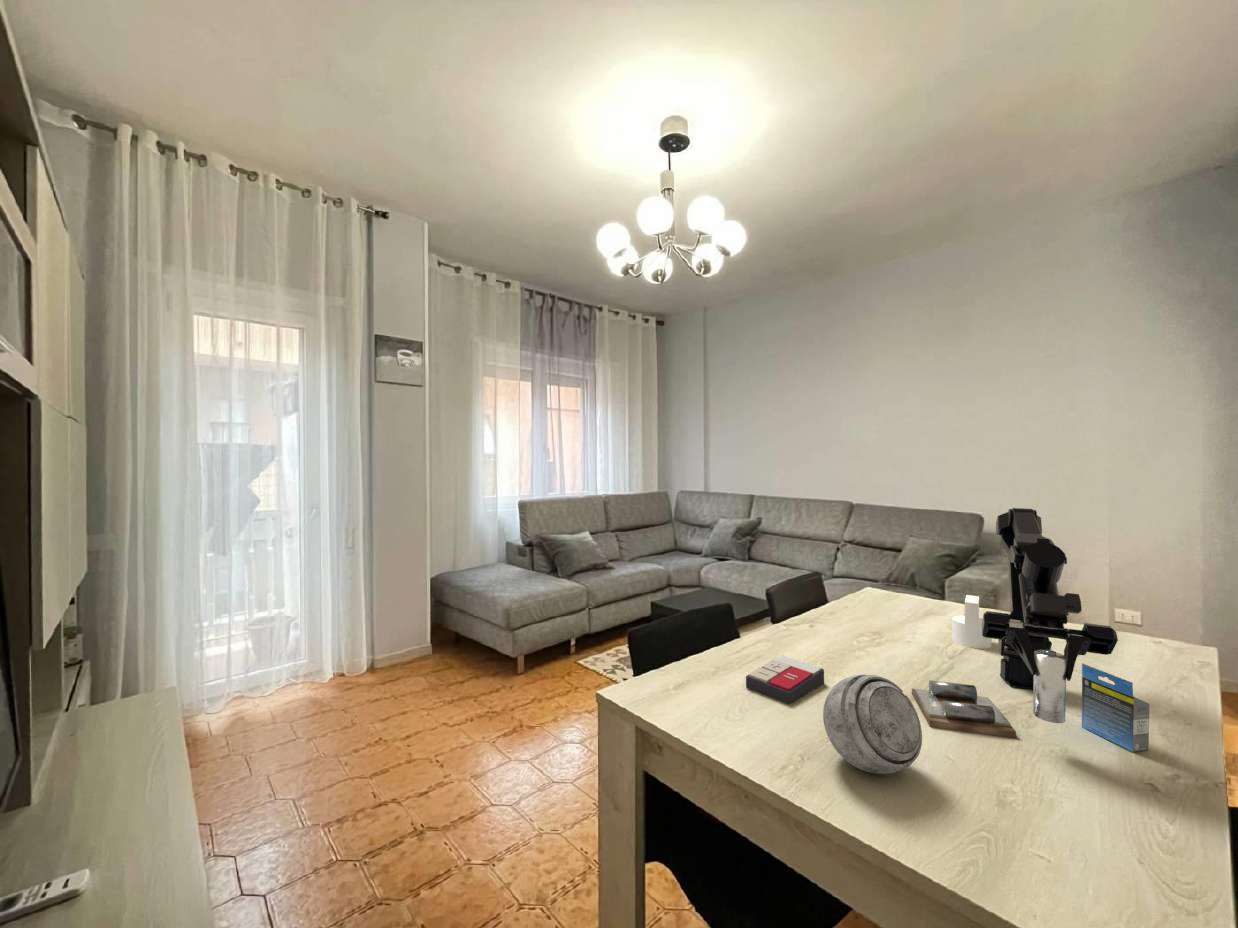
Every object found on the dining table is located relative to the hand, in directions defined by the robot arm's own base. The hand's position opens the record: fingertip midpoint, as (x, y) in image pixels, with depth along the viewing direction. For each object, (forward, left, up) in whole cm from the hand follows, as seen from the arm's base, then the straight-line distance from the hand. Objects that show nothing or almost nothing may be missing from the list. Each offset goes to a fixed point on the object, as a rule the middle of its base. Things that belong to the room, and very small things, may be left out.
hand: (1051, 676), depth 91 cm
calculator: (+44, -15, -14) cm, 48 cm away
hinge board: (+10, -11, -13) cm, 20 cm away
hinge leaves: (+10, -11, -12) cm, 20 cm away
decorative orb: (+30, +13, -14) cm, 36 cm away
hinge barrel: (0, -1, -8) cm, 8 cm away
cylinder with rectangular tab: (-6, -57, -14) cm, 59 cm away
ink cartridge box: (-14, -9, -14) cm, 21 cm away
